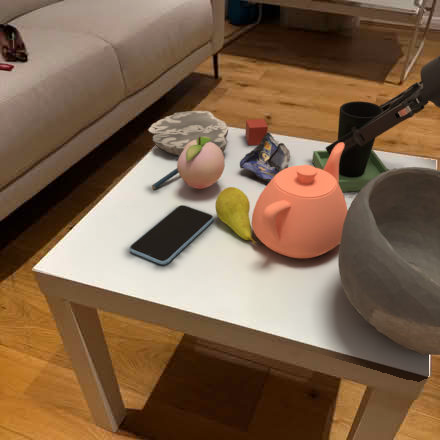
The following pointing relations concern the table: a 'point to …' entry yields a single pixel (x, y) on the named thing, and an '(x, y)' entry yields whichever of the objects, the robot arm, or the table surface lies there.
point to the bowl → (396, 256)
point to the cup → (348, 118)
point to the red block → (255, 131)
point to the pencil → (165, 179)
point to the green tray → (352, 183)
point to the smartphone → (171, 234)
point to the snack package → (267, 158)
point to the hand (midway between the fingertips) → (338, 144)
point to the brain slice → (188, 130)
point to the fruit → (235, 211)
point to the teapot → (302, 210)
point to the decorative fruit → (201, 163)
